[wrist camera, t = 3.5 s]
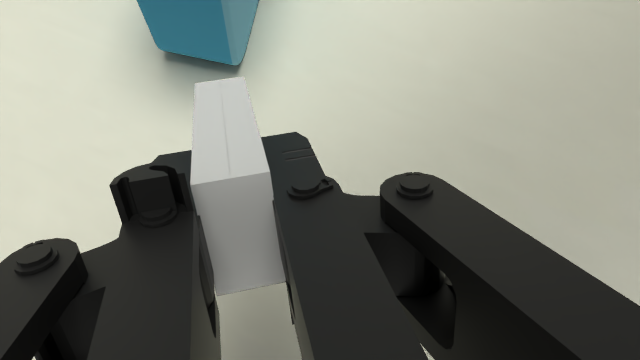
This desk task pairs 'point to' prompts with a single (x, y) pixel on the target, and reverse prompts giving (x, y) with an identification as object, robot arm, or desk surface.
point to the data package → (201, 27)
